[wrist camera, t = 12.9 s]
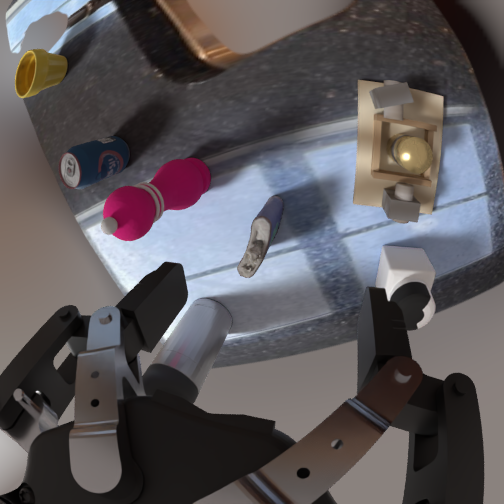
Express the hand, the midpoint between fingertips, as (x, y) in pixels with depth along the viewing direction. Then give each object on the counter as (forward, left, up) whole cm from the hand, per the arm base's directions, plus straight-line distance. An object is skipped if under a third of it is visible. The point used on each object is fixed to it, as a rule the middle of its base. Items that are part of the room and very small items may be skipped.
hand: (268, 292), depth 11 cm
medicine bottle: (-14, -15, -28) cm, 35 cm away
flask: (-9, +6, -28) cm, 30 cm away
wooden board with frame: (+4, -12, -28) cm, 31 cm away
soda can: (+3, +33, -28) cm, 44 cm away
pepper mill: (-2, +18, -28) cm, 34 cm away
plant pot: (+25, +50, -28) cm, 63 cm away
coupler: (+4, -12, -27) cm, 30 cm away
